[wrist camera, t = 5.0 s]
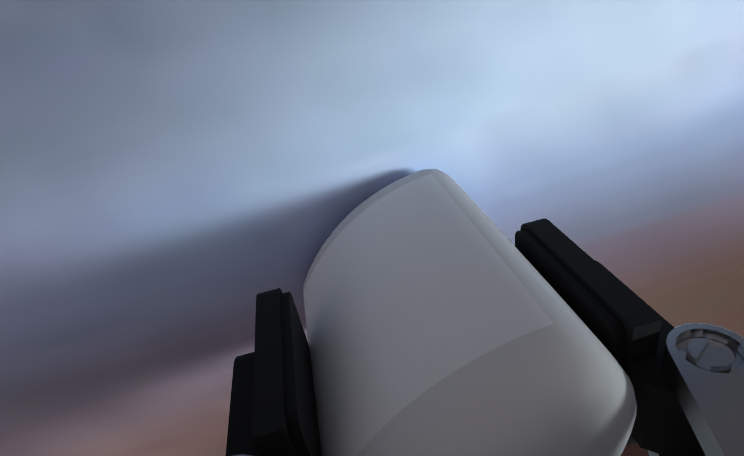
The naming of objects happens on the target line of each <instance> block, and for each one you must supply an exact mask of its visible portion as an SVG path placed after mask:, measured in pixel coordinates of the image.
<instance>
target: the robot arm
mask: <svg viewBox="0 0 744 456" xmlns="http://www.w3.org/2000/svg"><path fill="white" fill-rule="evenodd" d="M515 247H516V248H517V249H518V250H519V251H520V252H521V253H522V255H523V256H524V257H525V258H526V259H527V260H528V261H529V262H530V263H531V264H532V266H533V267H534V268H535V269H536V270H537V271H538V272H539V273H540V274H541V276H542V277H543V278H544V279H545V280H546V281H547V282H548V283H549V284H550V285H551V287H552V288H553V289H554V290H555V291H556V292H557V293H558V294H559V295H560V297H561V298H562V299H563V300H564V301H565V302H566V303H567V304H568V305H569V306H570V308H571V309H572V310H573V311H574V312H575V313H576V314H577V315H578V317H579V318H580V319H581V320H582V321H583V322H584V323H585V325H586V326H587V327H588V328H589V329H590V330H591V331H592V333H593V334H594V335H595V336H596V337H597V338H598V339H599V341H600V342H601V343H602V344H603V345H604V346H605V347H606V349H607V350H608V351H609V352H610V353H611V354H612V356H613V357H614V358H615V359H616V360H617V362H618V363H619V364H620V366H621V367H622V368H623V370H624V371H625V373H626V374H627V375H628V377H629V378H630V381H631V383H632V385H633V388H634V393H635V398H636V405H637V409H636V418H635V421H634V425H633V428H632V431H631V434H630V437H629V439H628V441H627V444H626V445H629V444H632V443H636V442H637V443H638V444H639V446H640V447H641V448H644V449H646V450H648V454H649V456H744V338H742V337H741V336H739V335H738V334H736V333H734V332H732V331H730V330H727V329H725V328H722V327H719V326H714V325H710V324H702V323H691V324H684V325H681V326H678V327H676V328H674V327H673V326H672V325H671V324H670V323H668V322H667V321H666V320H665V319H664V318H663V317H661V316H660V315H659V314H658V313H657V312H656V311H655V310H653V309H652V308H651V307H650V306H649V305H648V304H646V303H645V302H644V301H643V300H642V299H641V298H640V297H638V296H637V295H636V294H635V293H634V292H633V291H632V290H630V289H629V288H628V287H627V286H626V285H625V284H623V283H622V282H621V281H620V280H619V279H618V278H617V277H615V276H614V275H613V274H612V273H611V272H610V271H608V270H607V269H606V268H605V267H604V266H603V265H602V264H600V263H599V262H597V261H595V260H593V259H592V258H591V257H590V256H589V255H587V254H586V253H585V252H584V251H583V250H582V249H581V248H579V247H578V246H577V245H576V244H575V243H574V242H573V241H572V240H570V239H569V238H568V237H567V236H566V235H565V234H564V233H562V232H561V231H560V230H559V229H558V228H557V227H556V226H554V225H553V224H552V223H551V222H550V221H549V220H547V219H540V220H536V221H533V222H529V223H525V224H523V225H522V226H521V231H517V232H516V234H515ZM226 456H322V453H321V445H320V436H319V427H318V419H317V410H316V401H315V393H314V384H313V375H312V367H311V358H310V349H309V345H308V342H307V339H306V336H305V333H304V330H303V327H302V324H301V321H300V318H299V315H298V312H297V309H296V306H295V304H294V301H293V298H292V295H291V293H290V292H287V293H282V291H281V289H280V288H278V289H275V290H271V291H267V292H263V293H259V294H257V297H256V323H255V351H254V352H252V353H249V354H245V355H241V356H238V357H236V358H235V361H234V367H233V379H232V390H231V402H230V413H229V425H228V436H227V447H226Z"/></svg>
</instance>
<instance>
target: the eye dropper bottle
mask: <svg viewBox="0 0 744 456" xmlns="http://www.w3.org/2000/svg"><path fill="white" fill-rule="evenodd" d="M303 299H304V310H305V319H306V328H307V338H308V345H309V349H310V358H311V367H312V375H313V384H314V393H315V401H316V410H317V419H318V427H319V436H320V445H321V453H322V456H621V454H622V452H623V450H624V448H625V446H626V444H627V441H628V439H629V437H630V434H631V431H632V428H633V425H634V421H635V418H636V409H637V405H636V398H635V393H634V388H633V385H632V383H631V381H630V378H629V377H628V375H627V374H626V373H625V371H624V370H623V368H622V367H621V366H620V364H619V363H618V362H617V360H616V359H615V358H614V357H613V356H612V354H611V353H610V352H609V351H608V350H607V349H606V347H605V346H604V345H603V344H602V343H601V342H600V341H599V339H598V338H597V337H596V336H595V335H594V334H593V333H592V331H591V330H590V329H589V328H588V327H587V326H586V325H585V323H584V322H583V321H582V320H581V319H580V318H579V317H578V315H577V314H576V313H575V312H574V311H573V310H572V309H571V308H570V306H569V305H568V304H567V303H566V302H565V301H564V300H563V299H562V298H561V297H560V295H559V294H558V293H557V292H556V291H555V290H554V289H553V288H552V287H551V285H550V284H549V283H548V282H547V281H546V280H545V279H544V278H543V277H542V276H541V274H540V273H539V272H538V271H537V270H536V269H535V268H534V267H533V266H532V264H531V263H530V262H529V261H528V260H527V259H526V258H525V257H524V256H523V255H522V253H521V252H520V251H519V250H518V249H517V248H516V247H515V246H514V245H513V244H512V242H511V241H510V240H509V239H508V238H507V237H506V236H505V235H504V234H503V233H502V231H501V230H500V229H499V228H498V227H497V226H496V225H495V224H494V223H493V222H492V221H491V219H490V218H489V217H488V216H487V215H486V214H485V213H484V212H483V211H482V210H481V209H480V207H479V206H478V205H477V204H476V203H475V202H474V201H473V200H472V199H471V198H470V197H469V196H468V194H467V193H466V192H465V191H464V190H463V189H462V188H461V187H460V186H459V185H458V184H457V183H456V182H455V181H454V180H453V179H452V178H451V177H450V176H449V175H447V174H446V173H444V172H442V171H440V170H437V169H425V170H420V171H418V172H415V173H412V174H410V175H407V176H405V177H403V178H401V179H399V180H397V181H395V182H393V183H391V184H389V185H388V186H386V187H384V188H382V189H381V190H379V191H378V192H376V193H375V194H373V195H372V196H370V197H369V198H368V199H366V200H365V201H363V202H362V203H361V204H360V205H358V206H357V207H356V208H355V209H354V210H353V211H352V212H350V213H349V214H348V215H347V216H346V217H345V218H344V219H343V220H342V221H341V222H340V224H339V225H338V226H337V227H336V228H335V229H334V230H333V232H332V233H331V234H330V236H329V237H328V238H327V240H326V241H325V242H324V244H323V245H322V247H321V249H320V250H319V252H318V253H317V255H316V257H315V259H314V261H313V263H312V265H311V267H310V269H309V271H308V274H307V277H306V280H305V282H304V286H303Z"/></svg>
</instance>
